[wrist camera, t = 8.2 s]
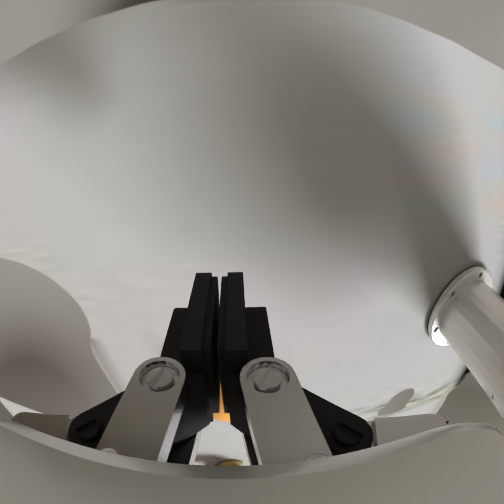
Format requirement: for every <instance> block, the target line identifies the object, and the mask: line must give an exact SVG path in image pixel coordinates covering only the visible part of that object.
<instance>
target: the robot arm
mask: <svg viewBox="0 0 504 504" xmlns="http://www.w3.org/2000/svg"><path fill="white" fill-rule="evenodd" d="M492 287H493V283H492V277H491V274H490V273H489V272H488V271H487V270H486V269H485V268H483V267H480V266H475V267H472V268H469V269H467V270H466V271H464V272H462V273H461V274H460V275H459V276H457V277H456V278H455V279H454V280H453V281H452V282H451V283H450V284H449V286H448V287H447V288H446V289H445V290H444V292H443V293H442V295H441V296H440V298H439V299H438V301H437V303H436V305H435V307H434V309H433V311H432V313H431V316H430V319H429V325H428V333H429V337H430V338H431V339H432V341H433V342H434V343H435V344H436V345H440V346H444V345H449V344H450V346H451V347H452V348H453V349H454V351H455V352H456V353H457V354H458V356H459V357H460V358H461V360H462V361H463V362H464V363H465V365H466V366H467V367H468V369H469V370H470V371H471V373H472V374H473V376H474V377H475V378H476V380H477V381H478V382H479V384H480V385H481V386H482V388H483V389H484V391H485V392H486V394H487V395H488V397H489V398H490V400H491V401H492V403H493V404H494V405H495V407H496V408H497V410H498V412H499V413H500V415H501V416H502V417H503V418H504V299H503V298H502V297H501V296H500V295H499V294H497V293H496V292H495V291H494V290H493V289H492ZM220 383H221V391H222V399H223V406H224V413H229V414H230V423H231V425H233V426H234V427H235V428H237V429H238V430H239V431H241V432H242V434H243V440H244V444H245V448H246V452H247V456H248V460H249V464H250V466H204V465H194V462H195V458H196V454H197V450H198V446H199V442H200V438H201V430H202V429H203V428H205V427H206V426H207V425H209V424H210V422H213V413H219V412H220ZM0 504H504V433H503V432H502V431H501V430H499V429H498V428H497V427H494V426H492V425H489V424H483V423H462V424H453V425H448V426H447V424H446V421H445V420H443V419H442V418H441V417H440V416H438V415H435V414H422V415H413V416H402V417H388V418H375V419H374V420H373V421H365V420H364V419H362V418H361V417H359V416H357V415H355V414H353V413H351V412H349V411H347V410H344V409H342V408H340V407H338V406H336V405H334V404H333V403H331V402H329V401H327V400H325V399H323V398H321V397H319V396H317V395H315V394H313V393H312V392H310V391H308V390H306V389H304V388H302V387H301V385H300V382H299V380H298V378H297V376H296V374H295V371H294V370H293V368H292V367H291V366H290V365H289V364H288V363H286V362H285V361H283V360H280V359H278V358H274V352H273V346H272V340H271V334H270V328H269V323H268V317H267V311H266V307H245V300H244V283H243V272H228V276H225V277H222V282H221V296H220V306H219V291H218V277H212V273H196V276H195V280H194V284H193V288H192V292H191V296H190V300H189V305H188V308H175V309H174V311H173V314H172V317H171V321H170V324H169V328H168V331H167V335H166V338H165V342H164V346H163V349H162V353H161V357H157V358H152V359H149V360H147V361H145V362H143V363H142V364H141V365H139V366H138V368H137V369H136V370H135V372H134V374H133V376H132V378H131V380H130V382H129V384H128V385H127V387H126V389H125V391H123V392H121V393H119V394H118V395H116V396H114V397H112V398H110V399H108V400H106V401H105V402H103V403H101V404H99V405H97V406H95V407H93V408H91V409H89V410H87V411H85V412H83V413H81V414H80V415H78V416H77V417H76V418H74V419H72V418H70V416H69V415H51V414H39V413H30V412H20V413H18V414H16V415H15V416H14V417H13V418H12V420H8V419H4V418H1V417H0Z"/></svg>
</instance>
